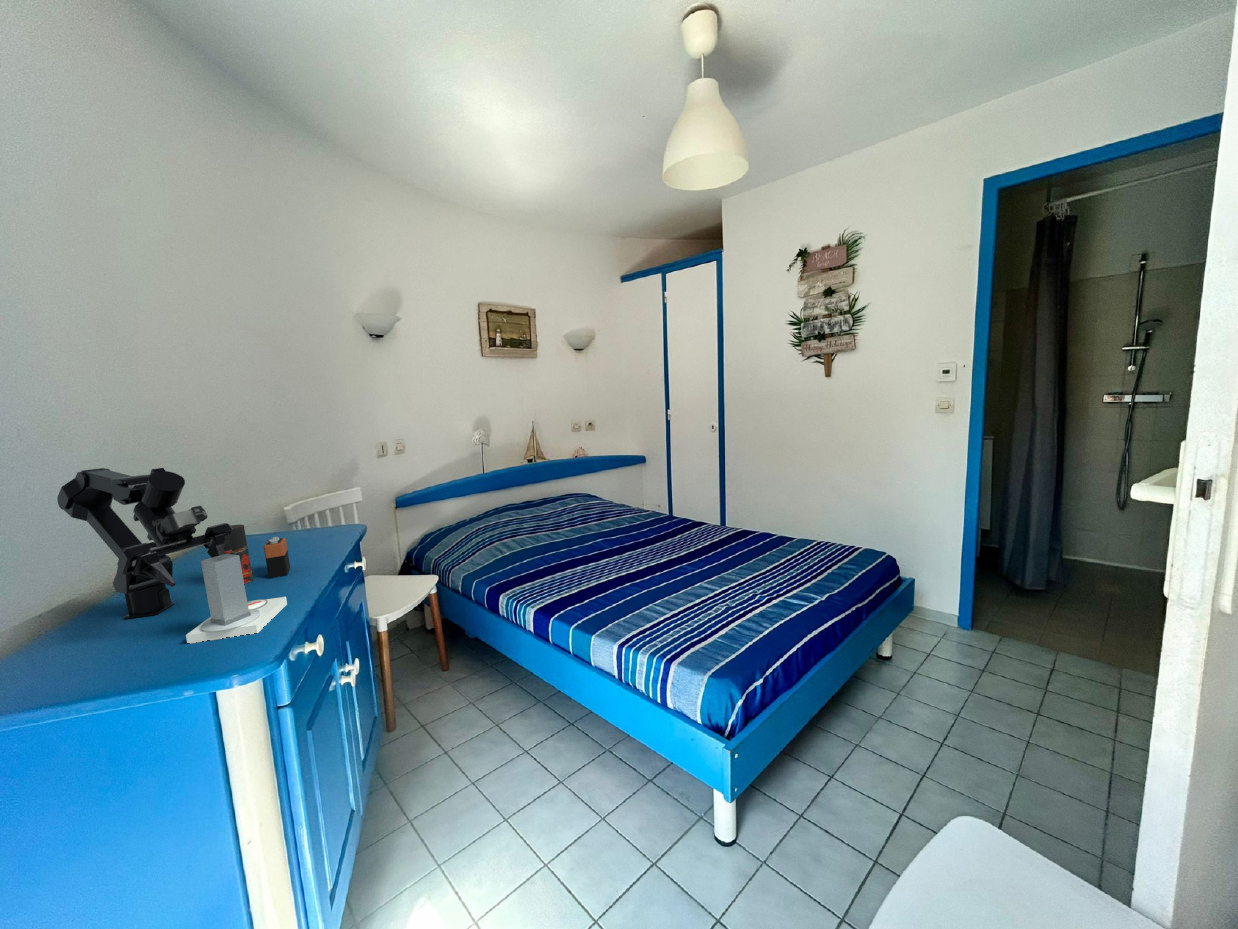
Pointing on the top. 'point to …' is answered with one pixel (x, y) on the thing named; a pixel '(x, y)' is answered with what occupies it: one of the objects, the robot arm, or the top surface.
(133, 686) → the top surface
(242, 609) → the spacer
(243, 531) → the deodorant
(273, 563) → the battery
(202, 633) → the scale
